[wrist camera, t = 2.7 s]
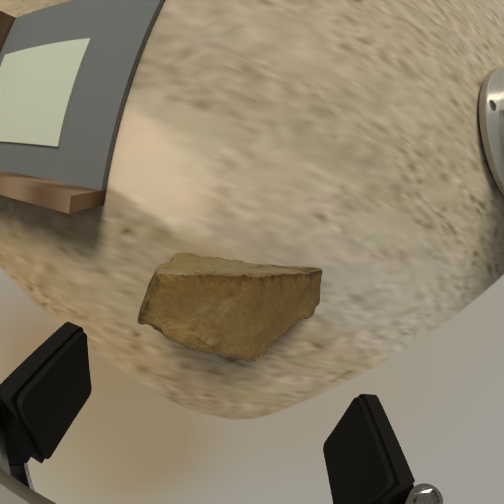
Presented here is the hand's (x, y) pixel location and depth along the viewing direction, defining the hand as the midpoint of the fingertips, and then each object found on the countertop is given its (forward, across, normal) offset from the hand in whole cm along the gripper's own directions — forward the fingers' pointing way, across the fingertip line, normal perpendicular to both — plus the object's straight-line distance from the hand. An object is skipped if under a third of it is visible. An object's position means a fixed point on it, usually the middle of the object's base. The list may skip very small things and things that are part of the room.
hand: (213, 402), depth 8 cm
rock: (+10, 0, 0) cm, 11 cm away
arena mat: (+10, +19, -11) cm, 24 cm away
